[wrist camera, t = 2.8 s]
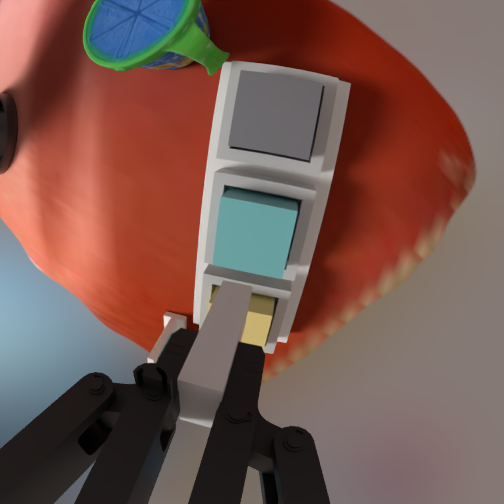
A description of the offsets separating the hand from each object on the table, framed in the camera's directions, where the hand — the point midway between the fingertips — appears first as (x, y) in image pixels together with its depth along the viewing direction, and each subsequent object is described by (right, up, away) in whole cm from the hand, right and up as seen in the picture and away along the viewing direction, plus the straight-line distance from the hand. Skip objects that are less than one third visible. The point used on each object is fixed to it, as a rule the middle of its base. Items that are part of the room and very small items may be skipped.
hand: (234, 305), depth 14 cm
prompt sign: (-10, -8, +23) cm, 27 cm away
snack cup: (-7, +25, +8) cm, 28 cm away
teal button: (+2, +5, +12) cm, 13 cm away
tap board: (+2, +7, +15) cm, 16 cm away
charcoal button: (+3, +14, +7) cm, 16 cm away
